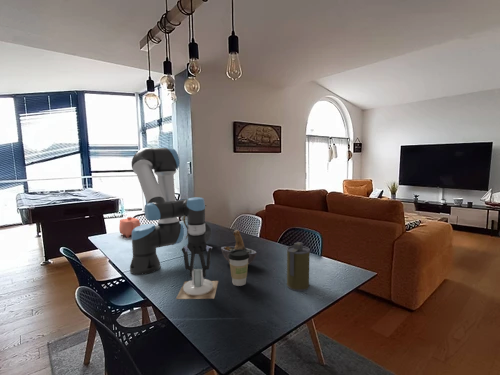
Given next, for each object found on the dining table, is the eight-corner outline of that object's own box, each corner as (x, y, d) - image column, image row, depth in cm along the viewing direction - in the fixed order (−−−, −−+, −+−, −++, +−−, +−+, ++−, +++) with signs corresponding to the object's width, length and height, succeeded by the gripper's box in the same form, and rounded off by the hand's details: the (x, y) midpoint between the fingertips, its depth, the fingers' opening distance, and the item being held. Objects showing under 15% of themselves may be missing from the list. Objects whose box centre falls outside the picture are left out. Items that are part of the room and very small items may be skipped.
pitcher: (213, 245, 180) (212, 201, 177) (188, 251, 168) (186, 205, 164) (205, 241, 188) (204, 199, 185) (180, 247, 176) (178, 202, 172)
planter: (220, 262, 150) (219, 227, 148) (248, 258, 156) (247, 224, 154) (227, 272, 136) (227, 234, 134) (257, 267, 142) (257, 231, 140)
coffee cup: (247, 289, 119) (246, 257, 117) (226, 287, 120) (225, 255, 119) (251, 279, 128) (251, 249, 126) (231, 277, 130) (231, 248, 128)
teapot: (116, 233, 209) (115, 216, 208) (132, 230, 218) (131, 213, 217) (127, 239, 194) (126, 220, 193) (144, 235, 203) (143, 217, 202)
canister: (293, 278, 129) (294, 238, 127) (313, 284, 122) (314, 242, 120) (281, 286, 121) (281, 244, 118) (302, 294, 114) (302, 249, 112)
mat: (175, 299, 110) (175, 298, 110) (184, 282, 126) (184, 281, 126) (214, 299, 110) (214, 298, 110) (218, 281, 126) (218, 280, 126)
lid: (180, 295, 112) (179, 277, 111) (187, 281, 125) (186, 264, 124) (210, 295, 112) (210, 276, 111) (214, 280, 125) (214, 264, 124)
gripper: (175, 235, 112) (177, 288, 114) (214, 235, 112) (215, 288, 114) (180, 230, 119) (182, 280, 122) (216, 230, 119) (217, 279, 122)
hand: (198, 283), depth 118 cm, fingers closed on lid, 3 cm apart
